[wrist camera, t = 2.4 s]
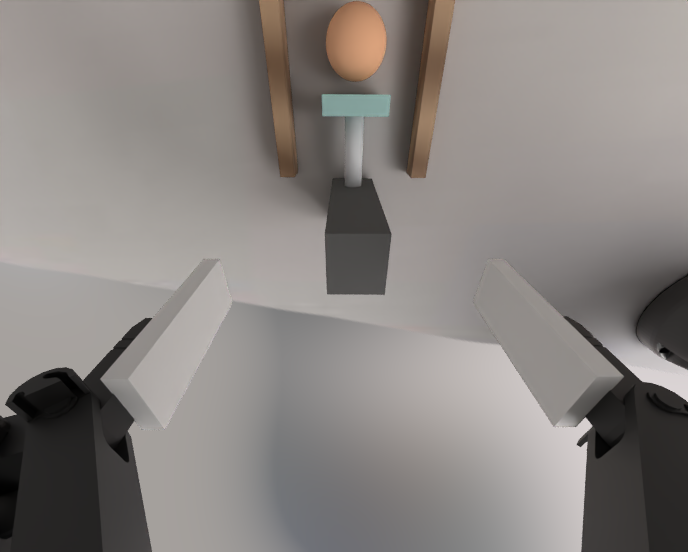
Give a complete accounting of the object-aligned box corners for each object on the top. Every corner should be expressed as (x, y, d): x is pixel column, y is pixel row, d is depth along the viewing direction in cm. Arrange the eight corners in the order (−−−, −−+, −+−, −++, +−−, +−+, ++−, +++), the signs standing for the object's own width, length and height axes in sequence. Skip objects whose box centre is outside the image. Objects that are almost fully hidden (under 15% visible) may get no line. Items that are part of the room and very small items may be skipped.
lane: (419, 172, 24) (441, 193, 18) (284, 171, 24) (267, 192, 18) (486, -257, 13) (588, -516, 8) (236, -259, 13) (158, -521, 7)
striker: (373, 220, 26) (392, 294, 16) (329, 220, 26) (319, 294, 16) (382, 96, 21) (418, 89, 10) (325, 95, 21) (308, 89, 10)
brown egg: (380, 83, 20) (387, 80, 17) (328, 83, 20) (325, 79, 17) (384, 11, 18) (394, -9, 15) (326, 11, 18) (322, -10, 15)
